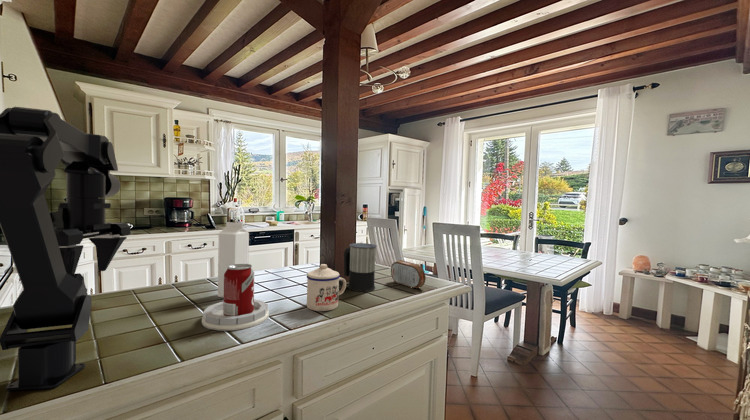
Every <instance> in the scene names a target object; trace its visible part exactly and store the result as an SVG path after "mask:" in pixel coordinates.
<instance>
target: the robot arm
mask: <svg viewBox="0 0 750 420" xmlns="http://www.w3.org/2000/svg"><path fill="white" fill-rule="evenodd" d="M60 162H62V164H63V165H65V168H64V169H63V172H64V173H66V174H65V175H66V178H65V179H66V181H65V183H66V185H65V186H66V187H65V191H66V194H65V196H66V197H65V198H66V199H65V202H59V204H58V205H57V211H53V212H50V210H49V205H48V203H47V199H46V194H45V193H46V191H47V190H48V188H49V186H51V183H52V182H53V181H54V179H55V178H56V168H57V167H58V165H59V164H60ZM118 168H119V167H118V163H117V159H116V154H115V150H114V146H113V143H112V142H110V140H109V139H108V137H107V136H105V135H102V134H101V135H100V134H95V133H94V134H93V133H86V132H84V131H82V130H80V129H78V128H77V127H76V126H74V125H72V124H70V123H69V122H67V121H65V120H64V119H62V118H61V116H60V114H58V113H57V112H53V111H51V110H50V109H41V108H40V109H38V108H33V107H31V108H30V107H23V106H22V107H21V106H13V107H6V108H5V109H4V110H3V111H2V112H1V113H0V229H1V232H2V234H3V237H4V240H5V242H6V245H7V247H8V250H9V253H10V255H11V258H12V262H13V264H14V268H15V269H16V270H15V271H16V273H17V275H18V278H19V280H20V284H21V286H22V291H20V294H19V295H18V297H17V299H16V300H15V302H14V303H13V305H12V312H11V314H10V316H9V318H8V320H7V322H6V324H5V327H4V329H3V331H2V333H1V335H0V346H1V350H2V351H7V350H11V349H17V350H18V351H17V352H18V353H17V354H18V355H17V359H18V360H17V363H18V364H17V367H18V368H17V370H18V371H17V373H18V375H17V378H18V379H17V380H14V382H11V383H10V384H8V385H7V386H5V391H9V392H10V391H26V390H42V389H54V388H57V387H59V386H60V385H61V384H62V383H64V382H65V381H67V380H68V379H70V378H71V377H72V376H74V375H75V374H77V373H78V372H80V371H81V370H82V369H84V368H85V367H86V363H85V362H82V363H81V362H79V363H76V362H77V361H76V360H77V342H78V340H79V339H80V338H82V337H83V336H84V335H85V334H86V333H87V332H88V331H89V327H90V326H89V325H90V317H91V311H92V297H91V295H89V294H88V288H87V286H86V284H85V277H84V276H83V275H82V274H81V273H80V272H79V273H76V271H77V269H78V265H79V262H80V258H81V257H82V256H81V255H82V252H83V249H84V245H82V244H81V243H82V241H83V240H84V239H87V238H88V240H89V241H90V242H91V243H92V244H93V245H95V251H96V252H95V253H96V263H97V268H98V271H99V272H105V271H107V269H108V267H109V265H110V264H111V262H112V261H113V259H114V257H115V255H116V253H117V252H118V251H119V249H120V247H121V246H122V244H123V242H124V241H125V240H127V236H131V226H130V225H129V224H128V223H127V222H112V221H111V222H109V221H108V222H107V221H106V209H111V208H112V207H111V202H110V203H109V202H108V203H107V202H106V198H111V197H114V196H115V195H117V194H118V192H120V190H121V183H120V180H119V179H118V177H117V176H116V175H114V174H112V173H110V172H118V171H119V169H118ZM61 326H71V327H63V328H56V327H61ZM51 327H53V328H52V329H44V330H34V329H43V328H51ZM54 327H55V328H54ZM27 330H34V331H27Z"/></svg>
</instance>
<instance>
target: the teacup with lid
mask: <svg viewBox="0 0 750 420" xmlns="http://www.w3.org/2000/svg"><path fill="white" fill-rule="evenodd" d="M306 279H307V280H306V281H307V282H306V283H307V285H306V286H307V287H306V307H307V309H309V310H311V311H316V312H326V311H327V312H328V311H333V310H334V309H337V308H338V307H339V296H340V295H342V294H343V293H344V292H345V290H346V288H347V285H346V284H347V281H346V279H345V278H343V277H340V273H339V272H338V271H336V270H333V269H332V268H329V267H328V265H327V263H326V264H325V263H321V264H320V265H319V267H317V268H315V269H314V270H311V271H309V272H307V274H306ZM339 280H341V281H343V286H342V289H341V290H340V291H339V288H340V287H339V286H340V284H339ZM338 291H339V292H338Z"/></svg>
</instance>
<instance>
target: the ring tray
mask: <svg viewBox="0 0 750 420" xmlns="http://www.w3.org/2000/svg"><path fill="white" fill-rule="evenodd" d="M223 303H224V300H223V301H220V302H217V303H214V304H211V305H209V306H207V307H206V308H205V309H204V310H203V315H202V317H201V325H202V326H203V327H204V328H206V329H208V330H212V331H218V332H220V331H221V332H223V331H225V332H227V331H228V332H229V331H239V330H244V329H248V328H252V327H255V326H258V325H260V324H263V323H264V322H266V321H267V320H268V319H269V317H270V311H269V306H268V304H267V303H266V302H265V301H263V300H260V299H255V298H254V311H253V312H252V313H250V314H245V315H240V316H224V315H223Z"/></svg>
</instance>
